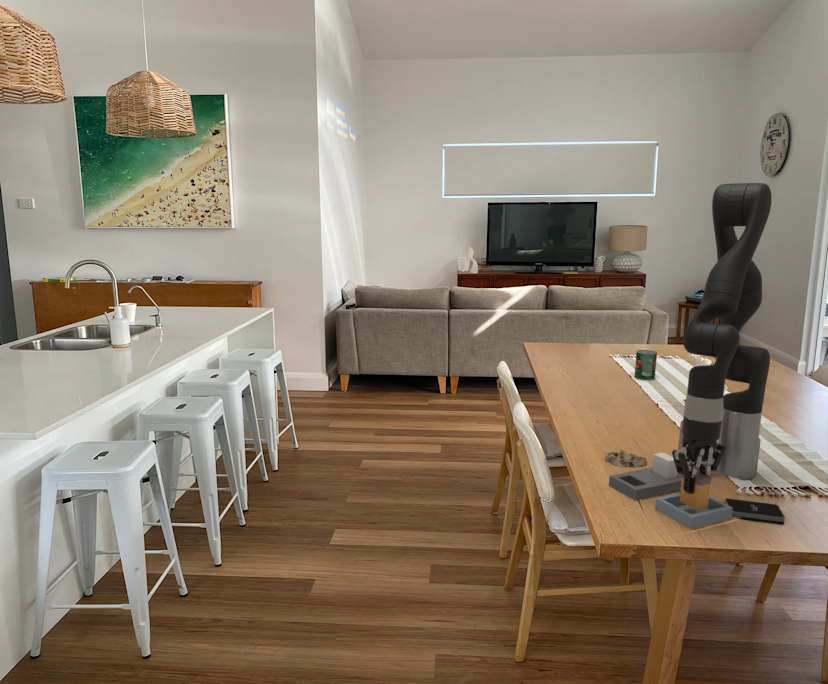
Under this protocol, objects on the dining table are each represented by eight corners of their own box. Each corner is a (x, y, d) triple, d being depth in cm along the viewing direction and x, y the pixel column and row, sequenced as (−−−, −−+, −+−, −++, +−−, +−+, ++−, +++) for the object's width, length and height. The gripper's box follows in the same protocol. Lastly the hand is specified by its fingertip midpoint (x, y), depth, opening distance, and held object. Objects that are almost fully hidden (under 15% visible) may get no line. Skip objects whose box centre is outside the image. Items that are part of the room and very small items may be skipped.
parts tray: (694, 501, 148) (695, 489, 148) (731, 520, 139) (732, 507, 139) (654, 510, 143) (655, 498, 143) (690, 530, 135) (691, 517, 134)
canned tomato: (630, 376, 263) (632, 350, 261) (646, 375, 265) (648, 349, 263) (642, 381, 256) (644, 354, 253) (659, 380, 258) (661, 353, 256)
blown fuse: (689, 498, 144) (692, 469, 142) (707, 507, 139) (711, 477, 138) (679, 500, 142) (682, 471, 141) (697, 510, 138) (701, 479, 137)
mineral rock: (603, 459, 168) (607, 442, 174) (602, 473, 170) (605, 455, 176) (647, 467, 164) (649, 449, 171) (645, 480, 166) (647, 462, 173)
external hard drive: (784, 526, 138) (785, 518, 137) (728, 519, 141) (729, 511, 140) (776, 512, 144) (777, 504, 144) (722, 505, 147) (723, 497, 147)
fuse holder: (658, 477, 162) (659, 465, 161) (686, 491, 154) (688, 479, 153) (608, 487, 156) (609, 475, 155) (635, 502, 148) (636, 490, 147)
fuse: (660, 479, 160) (662, 452, 158) (675, 486, 155) (678, 459, 154) (651, 481, 158) (653, 454, 157) (666, 488, 154) (669, 461, 152)
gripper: (712, 407, 143) (704, 480, 146) (664, 414, 137) (657, 489, 141) (741, 416, 136) (732, 492, 140) (692, 424, 131) (684, 503, 134)
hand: (694, 490), depth 140 cm, fingers closed on blown fuse, 3 cm apart
